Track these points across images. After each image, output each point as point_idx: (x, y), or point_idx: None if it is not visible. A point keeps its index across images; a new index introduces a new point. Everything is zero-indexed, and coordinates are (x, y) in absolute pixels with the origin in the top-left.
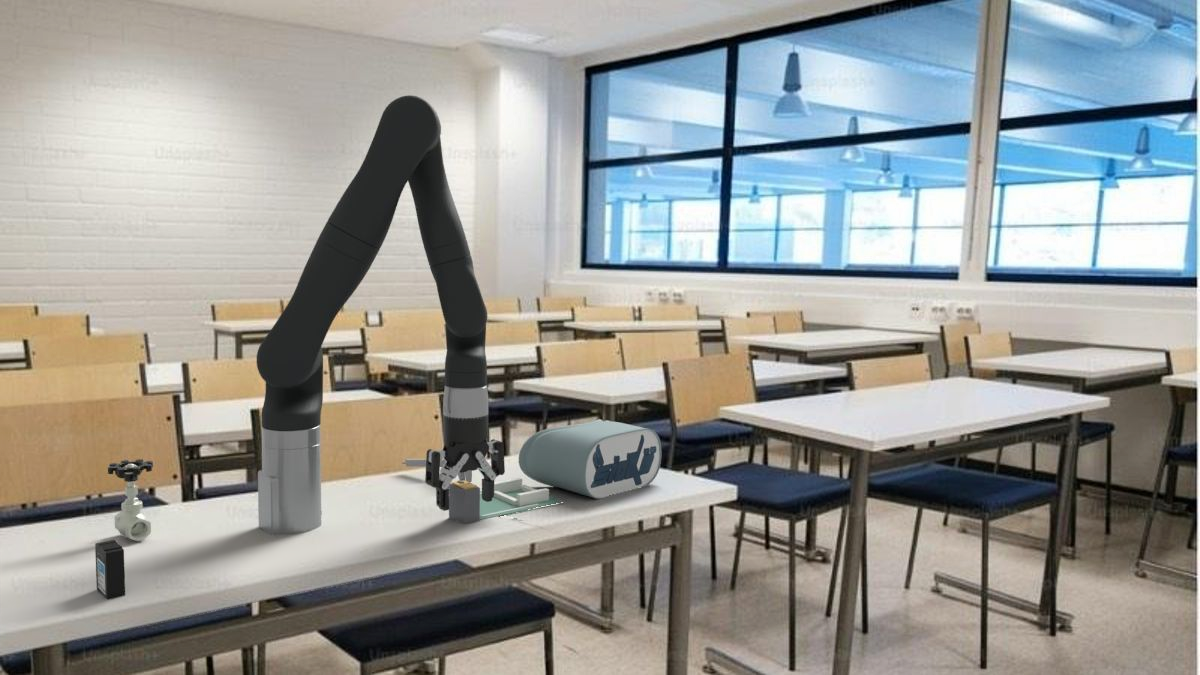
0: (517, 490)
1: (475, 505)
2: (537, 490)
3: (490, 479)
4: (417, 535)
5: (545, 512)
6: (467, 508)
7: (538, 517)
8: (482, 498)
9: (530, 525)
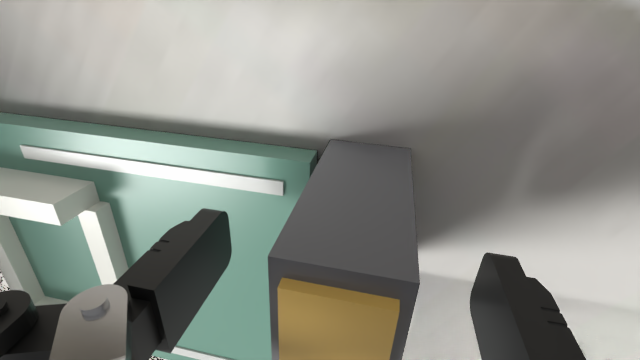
0: (54, 295)
1: (334, 192)
2: None
3: (129, 301)
4: (605, 236)
5: (27, 111)
6: (393, 195)
7: (66, 80)
8: (229, 257)
9: (129, 12)
